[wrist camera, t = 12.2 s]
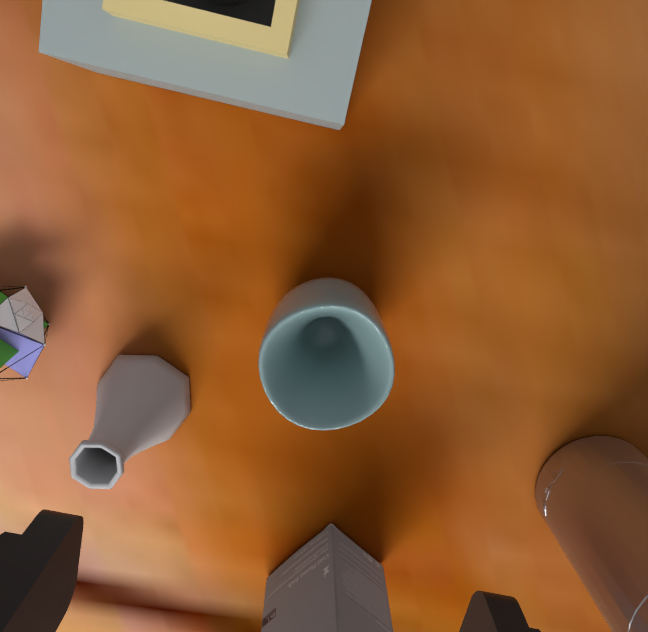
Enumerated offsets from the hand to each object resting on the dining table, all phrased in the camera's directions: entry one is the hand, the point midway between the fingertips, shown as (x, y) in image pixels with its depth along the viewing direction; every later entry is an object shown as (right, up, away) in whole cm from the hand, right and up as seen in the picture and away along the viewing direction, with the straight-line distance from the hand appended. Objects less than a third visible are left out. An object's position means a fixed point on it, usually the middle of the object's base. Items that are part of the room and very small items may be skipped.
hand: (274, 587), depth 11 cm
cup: (+1, +5, +30) cm, 31 cm away
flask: (-13, -1, +32) cm, 34 cm away
